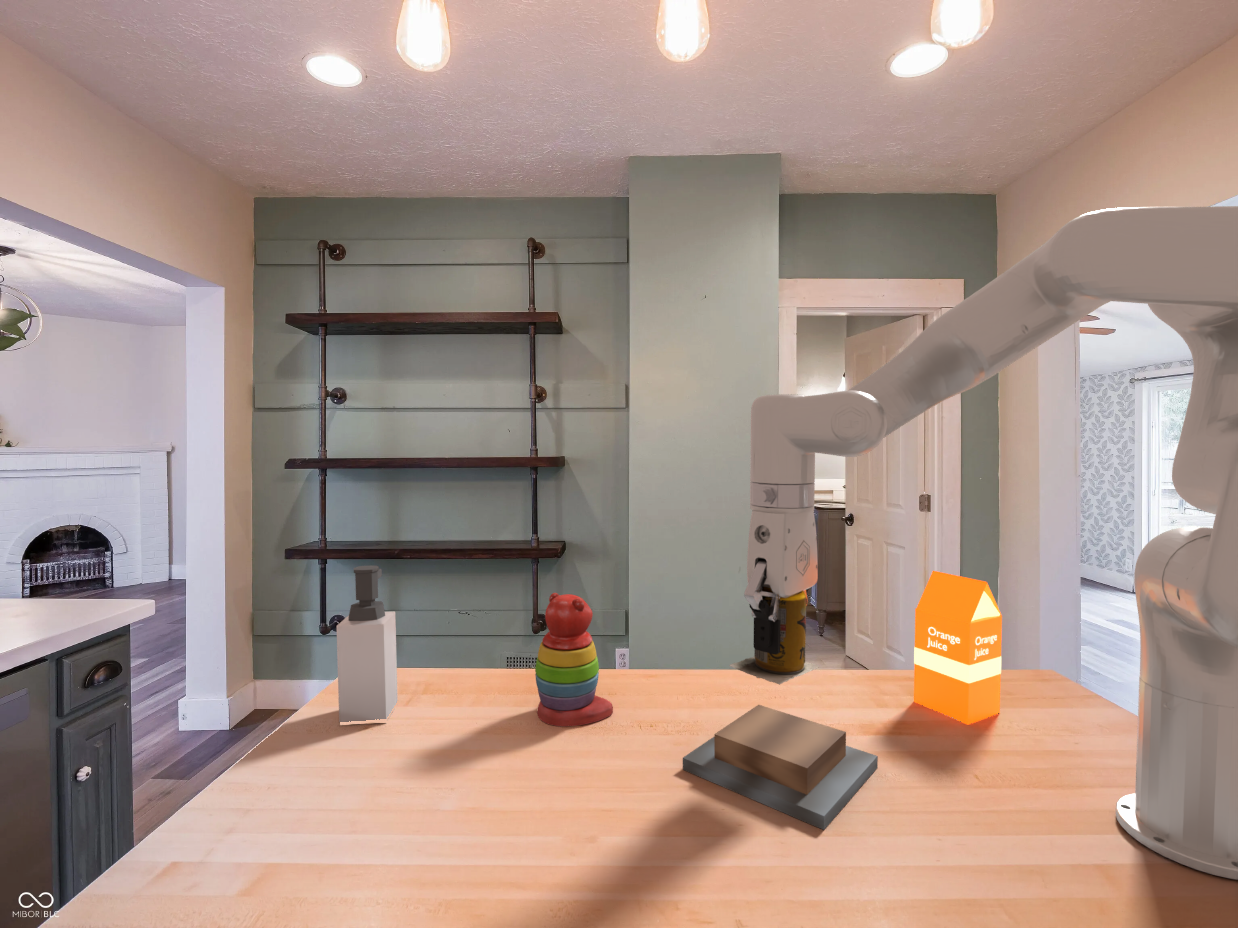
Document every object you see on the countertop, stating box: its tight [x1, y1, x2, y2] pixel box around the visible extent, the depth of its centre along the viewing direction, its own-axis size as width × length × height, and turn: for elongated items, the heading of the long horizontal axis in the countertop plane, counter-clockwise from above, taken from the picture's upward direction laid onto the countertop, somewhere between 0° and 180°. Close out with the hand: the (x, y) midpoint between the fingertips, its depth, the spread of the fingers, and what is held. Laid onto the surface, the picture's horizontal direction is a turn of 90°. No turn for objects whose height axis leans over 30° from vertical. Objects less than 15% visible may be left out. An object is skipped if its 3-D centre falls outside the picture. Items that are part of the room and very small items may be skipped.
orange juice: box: [913, 570, 1003, 726], centre depth 93 cm, size 8×9×20 cm
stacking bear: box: [534, 592, 614, 728], centre depth 92 cm, size 11×10×18 cm
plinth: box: [682, 704, 879, 831], centre depth 77 cm, size 18×16×4 cm
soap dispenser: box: [336, 565, 399, 723], centre depth 93 cm, size 6×9×22 cm
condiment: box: [728, 587, 820, 685], centre depth 76 cm, size 7×8×12 cm
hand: (780, 642), depth 76 cm, fingers closed on condiment, 6 cm apart
